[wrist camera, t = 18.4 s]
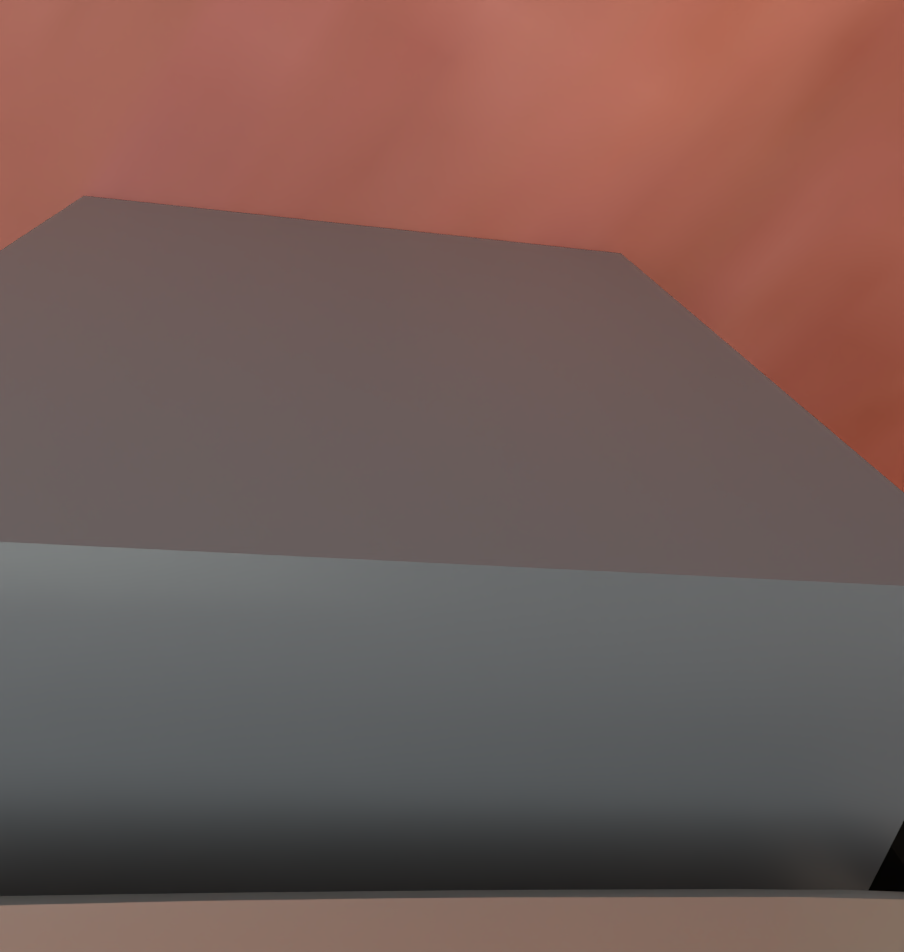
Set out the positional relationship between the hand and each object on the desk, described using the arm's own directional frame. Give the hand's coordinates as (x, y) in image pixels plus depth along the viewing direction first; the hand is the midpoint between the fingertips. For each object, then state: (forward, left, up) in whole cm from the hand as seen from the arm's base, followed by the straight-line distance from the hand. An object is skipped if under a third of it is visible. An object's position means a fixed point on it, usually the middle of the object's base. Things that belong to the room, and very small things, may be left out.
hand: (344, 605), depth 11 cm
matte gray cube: (0, 0, -4) cm, 4 cm away
